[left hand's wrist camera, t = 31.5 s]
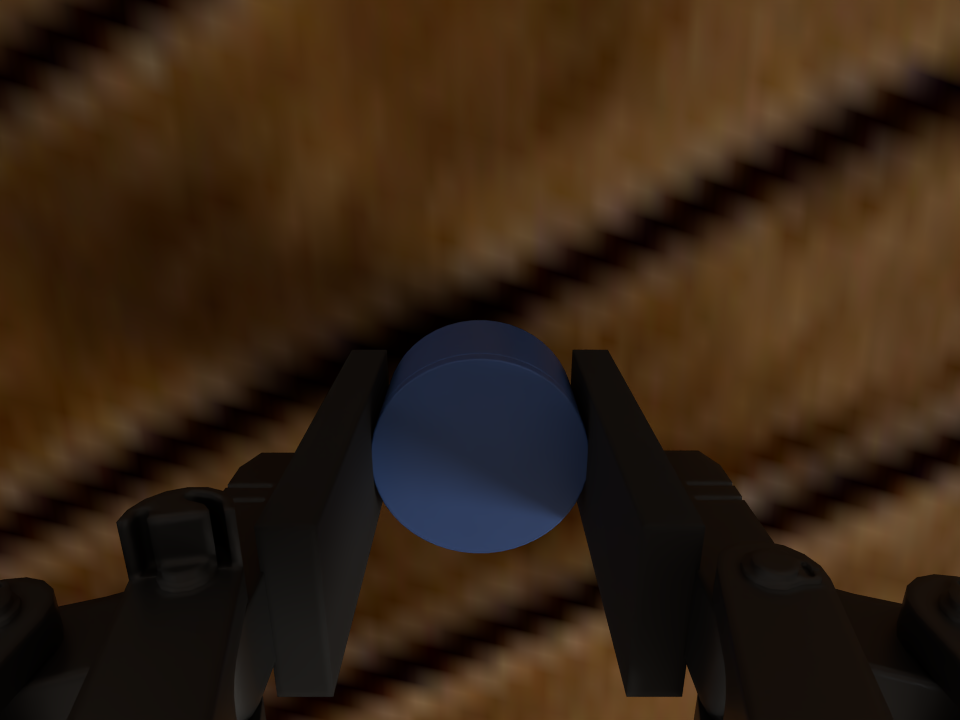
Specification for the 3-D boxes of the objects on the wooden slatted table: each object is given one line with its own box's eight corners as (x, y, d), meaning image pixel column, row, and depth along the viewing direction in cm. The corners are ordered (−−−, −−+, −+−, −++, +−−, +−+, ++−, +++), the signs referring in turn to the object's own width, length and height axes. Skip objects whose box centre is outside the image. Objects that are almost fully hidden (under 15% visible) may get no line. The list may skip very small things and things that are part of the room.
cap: (504, 518, 15) (509, 586, 13) (353, 432, 15) (330, 489, 12) (609, 383, 14) (634, 433, 12) (450, 282, 13) (444, 315, 11)
